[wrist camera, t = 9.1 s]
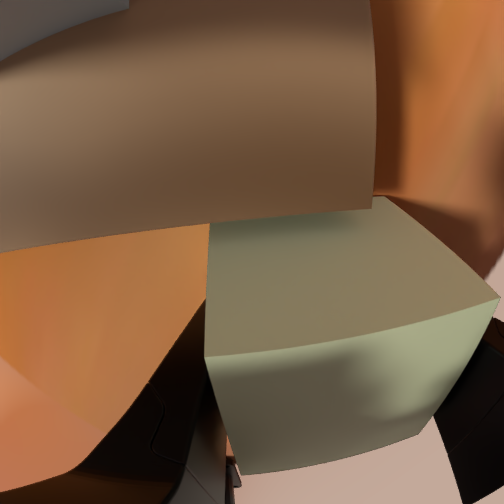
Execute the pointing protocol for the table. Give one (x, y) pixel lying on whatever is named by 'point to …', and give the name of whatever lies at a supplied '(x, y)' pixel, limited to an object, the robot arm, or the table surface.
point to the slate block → (46, 19)
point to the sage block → (334, 332)
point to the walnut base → (187, 118)
